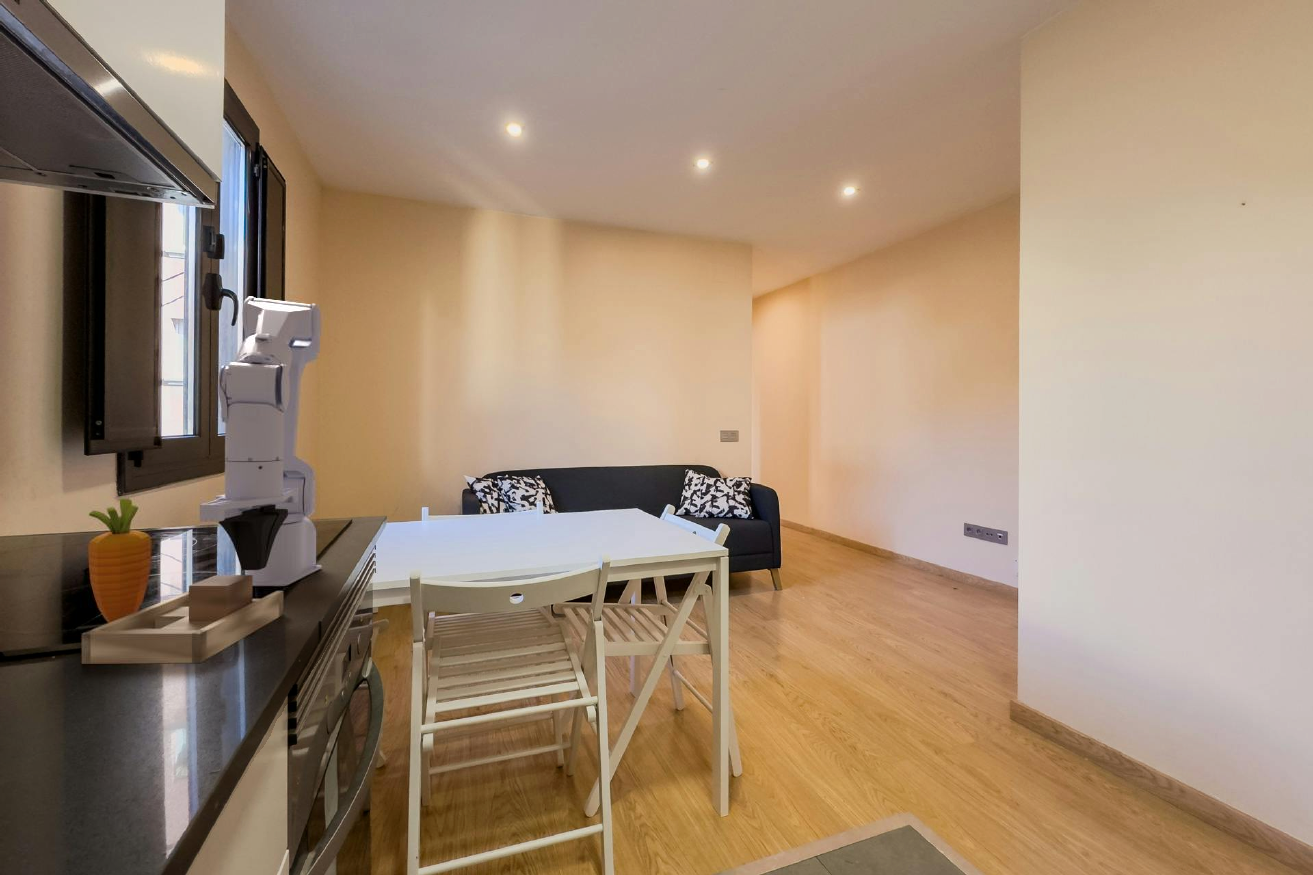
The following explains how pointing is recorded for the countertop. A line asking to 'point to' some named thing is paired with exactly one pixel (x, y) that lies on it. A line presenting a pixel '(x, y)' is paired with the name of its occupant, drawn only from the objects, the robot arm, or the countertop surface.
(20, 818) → the countertop surface
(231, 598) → the block
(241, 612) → the tray box
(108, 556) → the carrot
